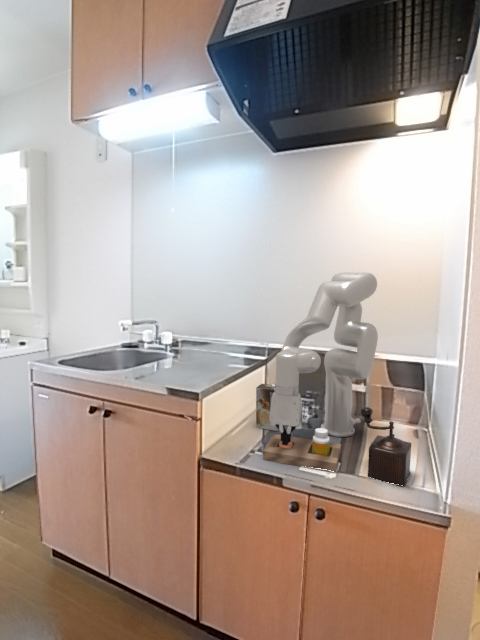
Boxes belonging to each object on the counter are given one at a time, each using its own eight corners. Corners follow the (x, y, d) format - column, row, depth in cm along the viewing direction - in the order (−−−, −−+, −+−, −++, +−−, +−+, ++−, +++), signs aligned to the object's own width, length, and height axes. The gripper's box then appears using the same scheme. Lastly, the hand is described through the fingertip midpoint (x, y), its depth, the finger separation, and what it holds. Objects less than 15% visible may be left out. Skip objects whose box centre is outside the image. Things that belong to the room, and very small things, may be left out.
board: (262, 459, 123) (262, 450, 122) (274, 442, 136) (274, 433, 136) (336, 472, 115) (336, 463, 115) (340, 452, 128) (341, 444, 128)
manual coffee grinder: (411, 471, 116) (414, 414, 114) (404, 488, 107) (408, 426, 105) (360, 457, 125) (362, 404, 123) (349, 472, 115) (351, 414, 113)
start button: (287, 448, 130) (287, 439, 130) (294, 454, 126) (295, 444, 126) (276, 451, 128) (276, 441, 128) (283, 456, 124) (283, 447, 124)
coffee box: (283, 425, 150) (283, 386, 149) (277, 431, 145) (278, 390, 143) (261, 421, 155) (262, 383, 153) (255, 427, 149) (255, 387, 147)
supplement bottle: (329, 463, 120) (330, 434, 119) (312, 462, 121) (312, 433, 120) (328, 456, 126) (329, 427, 124) (312, 454, 127) (312, 426, 125)
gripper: (261, 390, 124) (260, 444, 126) (307, 395, 119) (305, 452, 121) (267, 384, 131) (267, 435, 133) (311, 389, 126) (310, 442, 128)
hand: (285, 443), depth 127 cm, fingers closed
